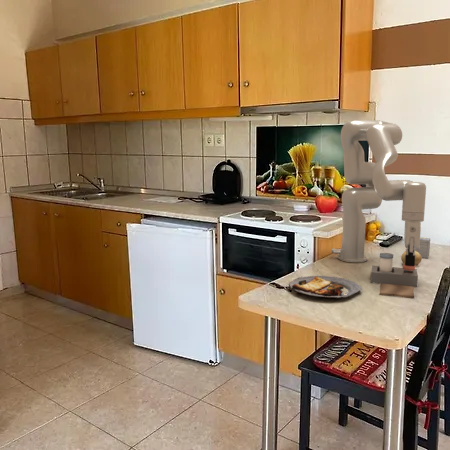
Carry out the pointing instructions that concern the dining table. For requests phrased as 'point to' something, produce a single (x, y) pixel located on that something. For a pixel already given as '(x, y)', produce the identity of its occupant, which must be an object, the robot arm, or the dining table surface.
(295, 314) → the dining table surface
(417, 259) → the onion
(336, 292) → the food plate
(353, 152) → the robot arm
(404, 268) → the red round-topped peg
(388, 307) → the dining table surface
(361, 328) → the dining table surface
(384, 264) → the cylinder
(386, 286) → the pad
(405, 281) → the housing
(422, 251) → the medicine box
